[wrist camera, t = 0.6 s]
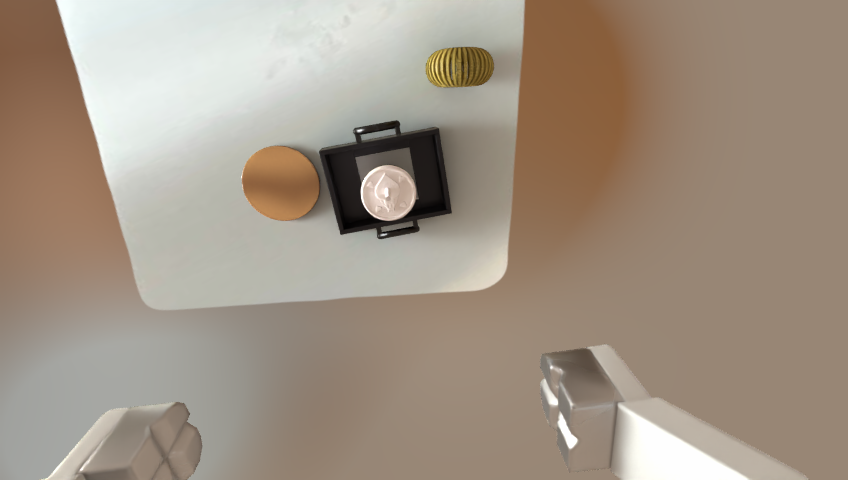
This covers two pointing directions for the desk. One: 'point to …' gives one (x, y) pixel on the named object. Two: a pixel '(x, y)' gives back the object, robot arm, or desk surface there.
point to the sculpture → (459, 67)
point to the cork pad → (280, 183)
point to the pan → (348, 185)
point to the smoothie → (388, 192)
